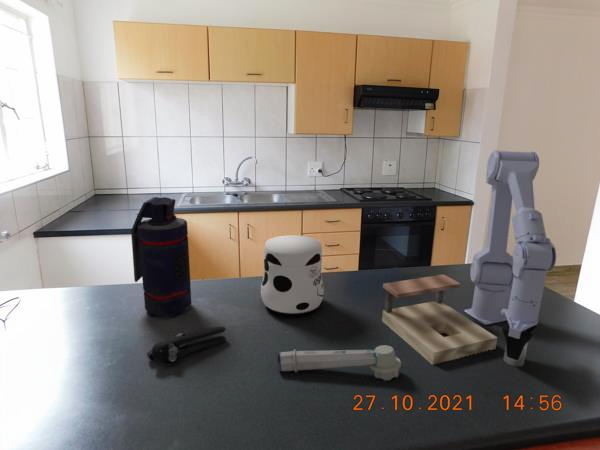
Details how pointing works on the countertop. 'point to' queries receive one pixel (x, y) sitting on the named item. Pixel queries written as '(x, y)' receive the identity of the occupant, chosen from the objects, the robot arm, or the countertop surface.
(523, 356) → the steel peg
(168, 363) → the can opener
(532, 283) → the robot arm
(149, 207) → the grenade
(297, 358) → the toothbrush head
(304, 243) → the milk container
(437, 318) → the socket block
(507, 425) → the countertop surface
